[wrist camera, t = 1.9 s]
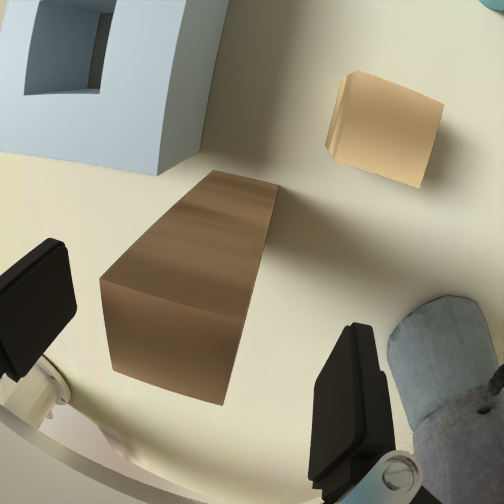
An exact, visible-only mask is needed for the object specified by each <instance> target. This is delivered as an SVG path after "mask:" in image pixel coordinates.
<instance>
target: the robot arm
mask: <svg viewBox="0 0 504 504" xmlns="http://www.w3.org/2000/svg"><path fill="white" fill-rule="evenodd" d="M76 311H77V304H76V299H75V294H74V288H73V282H72V276H71V270H70V263H69V256H68V250H67V248H66V247H65V244H64V242H62V241H59V240H56V239H53V238H48V239H46V240H45V241H43V242H42V243H41V244H39V245H38V246H37V247H36V248H34V249H33V250H32V251H30V252H29V253H28V254H26V255H25V256H24V257H23V258H21V259H20V260H19V261H18V262H16V263H15V264H14V265H13V266H11V267H10V268H9V269H8V270H7V271H5V272H4V273H3V274H2V275H1V276H0V504H207V503H203V502H199V501H196V500H192V499H189V498H185V497H182V496H179V495H175V494H173V493H170V492H167V491H164V490H161V489H158V488H155V487H152V486H149V485H147V484H144V483H142V482H139V481H137V480H134V479H132V478H129V477H127V476H124V475H122V474H120V473H117V472H115V471H113V470H111V469H108V468H106V467H104V466H102V465H100V464H98V463H96V462H94V461H92V460H90V459H88V458H86V457H84V456H82V455H80V454H78V453H76V452H74V451H72V450H70V449H69V448H67V447H65V446H63V445H62V444H60V443H58V442H56V441H55V440H53V439H51V438H50V437H48V436H46V435H45V434H43V433H42V432H40V431H38V429H39V427H40V425H41V424H42V422H43V421H44V419H45V418H46V417H47V418H48V419H52V418H53V413H52V412H51V409H52V408H53V406H54V405H55V404H59V405H65V404H67V403H68V401H69V400H70V398H71V392H70V389H69V387H68V385H67V383H66V382H65V380H64V379H63V377H62V376H61V375H60V374H59V372H58V371H57V370H56V369H55V368H54V367H53V366H52V365H51V364H50V362H49V361H47V360H46V359H45V358H44V357H43V356H42V354H43V353H44V352H45V351H46V349H47V348H48V347H49V346H50V344H51V343H52V342H53V341H54V340H55V338H56V337H57V336H58V335H59V333H60V332H61V331H62V330H63V329H64V327H65V326H66V325H67V324H68V323H69V322H70V320H71V319H72V318H73V317H74V316H75V314H76ZM308 479H309V480H311V481H313V486H312V489H321V490H322V499H323V501H322V502H321V503H320V504H443V503H441V502H440V501H439V500H438V499H437V498H436V497H435V496H433V495H432V494H431V493H430V492H429V491H428V490H427V489H426V488H425V487H423V486H422V485H421V484H422V482H423V469H422V466H421V464H420V462H419V461H418V460H417V458H416V457H415V456H414V455H412V454H410V453H409V452H406V451H402V450H396V446H395V436H394V428H393V419H392V411H391V404H390V397H389V390H388V384H387V378H386V375H385V373H384V372H383V371H380V368H379V362H378V355H377V350H376V344H375V338H374V333H373V328H372V326H370V325H365V324H361V323H356V322H353V323H352V324H351V326H345V328H344V329H343V331H342V333H341V335H340V337H339V339H338V341H337V343H336V345H335V347H334V348H333V350H332V352H331V354H330V356H329V358H328V360H327V361H326V363H325V365H324V367H323V369H322V370H321V372H320V374H319V376H318V377H317V379H316V382H315V386H314V400H313V418H312V434H311V447H310V459H309V471H308Z"/></svg>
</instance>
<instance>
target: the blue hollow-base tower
mask: <svg viewBox="0 0 504 504" xmlns="http://www.w3.org/2000/svg"><path fill="white" fill-rule="evenodd" d="M479 1H481V2H482V3H483V4H484V5H485V6H486V7H488V8H490V9H493V10H500V11H504V0H479Z"/></svg>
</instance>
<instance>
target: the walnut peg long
mask: <svg viewBox="0 0 504 504" xmlns="http://www.w3.org/2000/svg"><path fill="white" fill-rule="evenodd" d="M278 187H279V185H276V184H272V183H267V182H263V181H259V180H255V179H250V178H246V177H241V176H237V175H232V174H228V173H223V172H218V171H212V172H211V173H209V174H208V175H207V176H206V177H205V178H204V179H203V180H201V181H200V182H199V183H198V184H197V185H196V186H195V187H193V188H192V189H191V190H190V191H189V192H188V193H187V194H186V195H184V196H183V197H182V198H181V199H180V200H179V201H178V202H177V203H176V204H175V205H174V206H172V207H171V208H170V209H169V210H168V211H167V212H166V213H165V214H164V215H163V216H162V217H161V218H160V219H158V220H157V221H156V222H155V223H154V224H153V225H152V226H151V227H150V228H149V229H148V230H147V231H146V232H145V233H144V234H143V235H142V236H141V237H140V238H139V239H138V240H137V241H136V242H135V243H134V244H133V245H132V246H131V247H130V248H129V249H128V250H127V251H126V252H125V253H124V254H123V255H122V256H121V257H120V258H119V259H118V260H117V261H116V262H115V263H114V264H113V265H112V266H111V267H110V268H109V269H108V270H107V271H106V272H105V273H104V274H103V275H102V276H101V277H100V278H99V280H100V290H101V298H102V307H103V314H104V321H105V328H106V334H107V340H108V346H109V352H110V357H111V362H112V367H113V370H114V371H116V372H119V373H121V374H124V375H126V376H129V377H132V378H134V379H137V380H140V381H143V382H145V383H148V384H151V385H154V386H157V387H160V388H163V389H166V390H169V391H172V392H175V393H179V394H182V395H185V396H189V397H192V398H195V399H199V400H202V401H206V402H210V403H213V404H217V405H221V406H223V403H224V400H225V396H226V392H227V388H228V385H229V381H230V377H231V373H232V369H233V366H234V362H235V358H236V354H237V350H238V346H239V343H240V339H241V335H242V331H243V327H244V323H245V320H246V316H247V312H248V308H249V304H250V300H251V296H252V292H253V288H254V285H255V281H256V277H257V273H258V269H259V265H260V261H261V257H262V253H263V249H264V245H265V241H266V237H267V233H268V229H269V225H270V220H271V216H272V212H273V208H274V204H275V200H276V196H277V191H278Z"/></svg>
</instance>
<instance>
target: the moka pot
mask: <svg viewBox="0 0 504 504" xmlns="http://www.w3.org/2000/svg"><path fill="white" fill-rule="evenodd" d="M387 359H388V363H389V366H390V369H391V372H392V374H393V377H394V380H395V383H396V386H397V389H398V392H399V394H400V397H401V400H402V404H403V407H404V410H405V412H406V416H407V419H408V422H409V426H410V428H411V430H412V431H413V432H414V433H413V446H414V454H413V455H414V456H415V457H416V458H417V460H418V461H419V462H420V464H421V466H422V469H423V482H422V484H421V485H422V486H423V487H425V488H426V489H427V490H428V491H429V492H430V493H431V494H432V495H433V496H435V497H436V498H437V499H438V500H439V501H440V502H441V503H443V504H504V364H503V365H502V366H500V367H499V366H498V361H497V357H496V353H495V350H494V346H493V343H492V339H491V336H490V332H489V329H488V326H487V323H486V321H485V318H484V316H483V314H482V312H481V310H480V308H479V307H478V305H477V304H476V302H474V301H472V300H470V299H467V298H461V297H455V296H444V297H442V298H438V299H436V300H434V301H430V302H429V303H427V304H425V305H423V306H421V307H420V308H419V309H417V310H416V311H414V312H413V313H411V314H410V315H408V316H407V317H406V318H405V319H404V320H403V321H402V322H401V323H400V324H399V325H398V326H397V328H396V329H395V330H394V332H393V333H392V334H391V336H390V338H389V341H388V350H387Z"/></svg>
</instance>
